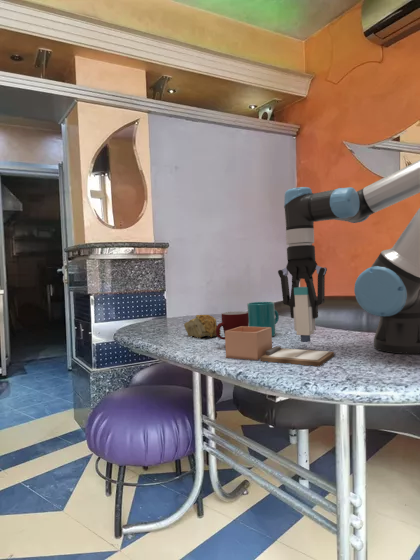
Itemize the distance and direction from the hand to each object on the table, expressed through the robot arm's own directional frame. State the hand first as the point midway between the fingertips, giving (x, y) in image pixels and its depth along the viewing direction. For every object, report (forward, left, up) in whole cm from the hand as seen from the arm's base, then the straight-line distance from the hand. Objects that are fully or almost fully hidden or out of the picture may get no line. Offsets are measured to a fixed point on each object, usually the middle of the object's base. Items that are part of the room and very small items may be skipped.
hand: (305, 329), depth 113 cm
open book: (-2, +11, -5) cm, 12 cm away
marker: (0, 0, -3) cm, 3 cm away
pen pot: (+11, +12, -5) cm, 17 cm away
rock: (+41, -10, -6) cm, 42 cm away
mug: (+21, +3, -6) cm, 22 cm away
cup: (+20, -18, -6) cm, 28 cm away
